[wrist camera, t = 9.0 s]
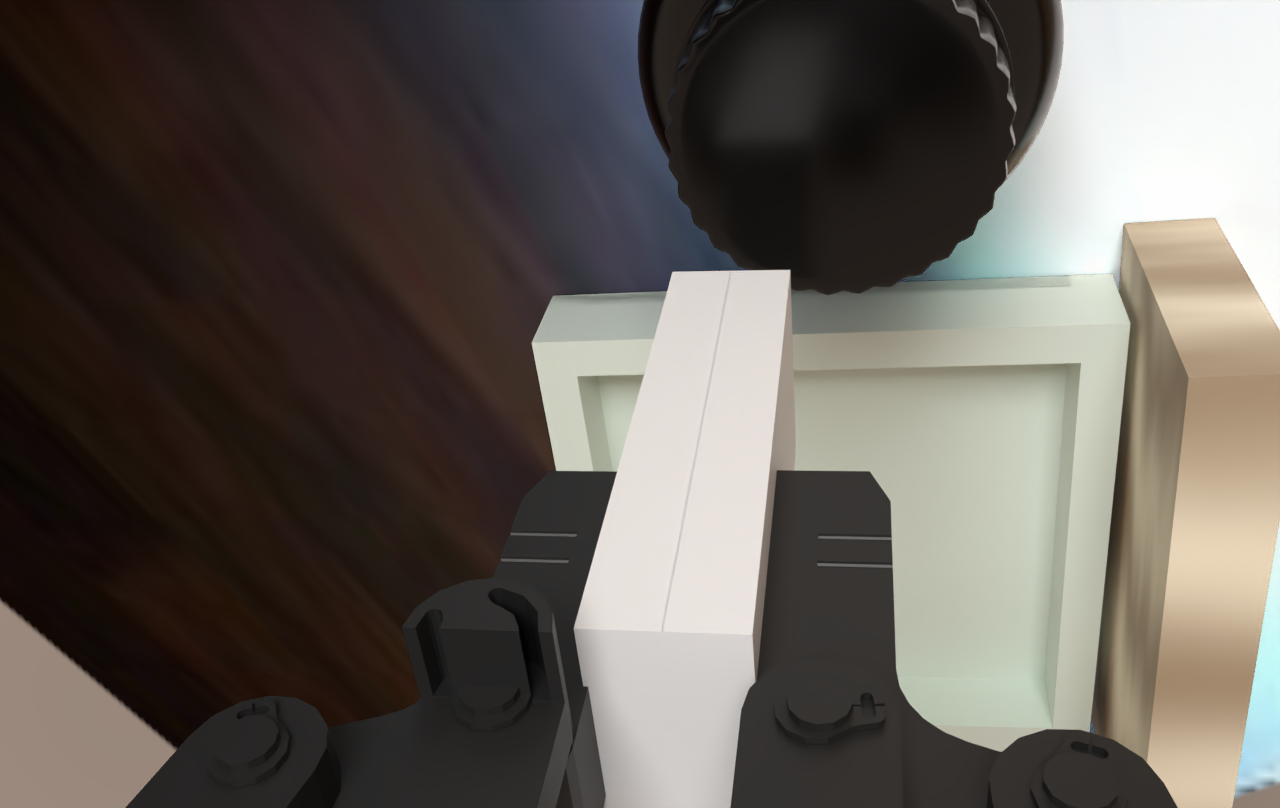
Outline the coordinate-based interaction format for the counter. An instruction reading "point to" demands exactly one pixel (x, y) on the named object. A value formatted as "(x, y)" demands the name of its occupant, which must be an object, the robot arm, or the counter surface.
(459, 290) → the counter surface
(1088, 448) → the sliding tray
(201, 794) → the robot arm
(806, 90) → the supplement bottle
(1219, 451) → the backstop wall
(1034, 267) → the counter surface
